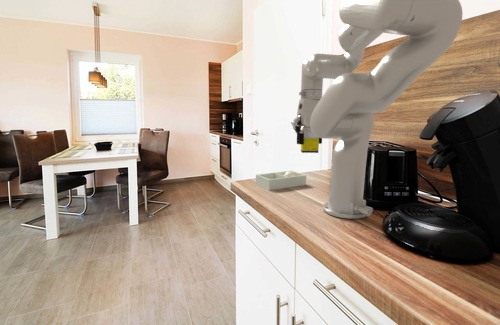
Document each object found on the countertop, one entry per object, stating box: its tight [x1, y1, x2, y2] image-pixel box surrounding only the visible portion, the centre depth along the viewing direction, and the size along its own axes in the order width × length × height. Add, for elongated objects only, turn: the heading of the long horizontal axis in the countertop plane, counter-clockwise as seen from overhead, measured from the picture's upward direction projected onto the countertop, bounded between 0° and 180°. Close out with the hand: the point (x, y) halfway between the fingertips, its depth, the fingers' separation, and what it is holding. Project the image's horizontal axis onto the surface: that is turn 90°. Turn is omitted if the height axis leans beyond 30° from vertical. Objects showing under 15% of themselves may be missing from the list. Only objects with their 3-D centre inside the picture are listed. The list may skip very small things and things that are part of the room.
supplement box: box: [300, 127, 320, 154], centre depth 97 cm, size 6×6×11 cm
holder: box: [255, 170, 307, 191], centre depth 107 cm, size 10×18×5 cm, turn 119°
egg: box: [284, 170, 295, 177], centre depth 109 cm, size 5×5×5 cm
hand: (309, 143), depth 98 cm, fingers closed on supplement box, 8 cm apart
